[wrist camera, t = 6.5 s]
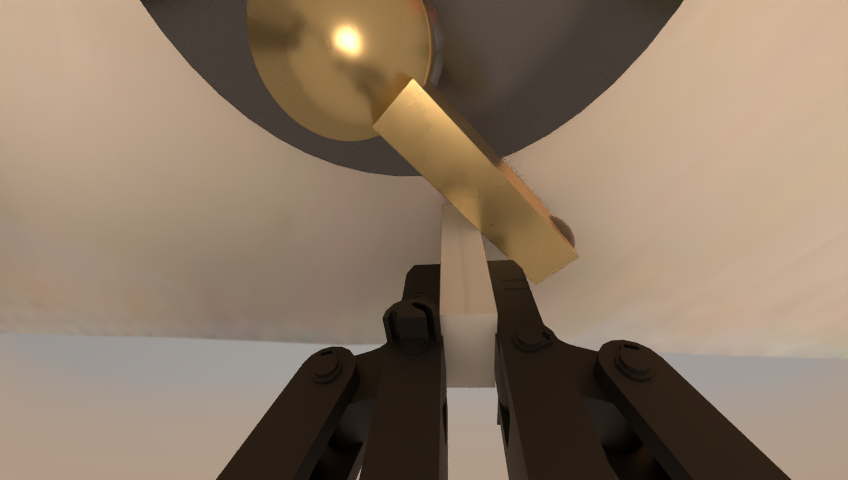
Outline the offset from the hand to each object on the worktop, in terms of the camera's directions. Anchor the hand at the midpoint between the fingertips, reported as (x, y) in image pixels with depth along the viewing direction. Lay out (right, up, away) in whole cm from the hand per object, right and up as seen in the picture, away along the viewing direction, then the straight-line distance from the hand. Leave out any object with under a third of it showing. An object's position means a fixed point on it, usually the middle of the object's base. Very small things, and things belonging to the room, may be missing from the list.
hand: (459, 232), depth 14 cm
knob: (-1, +4, 0) cm, 4 cm away
